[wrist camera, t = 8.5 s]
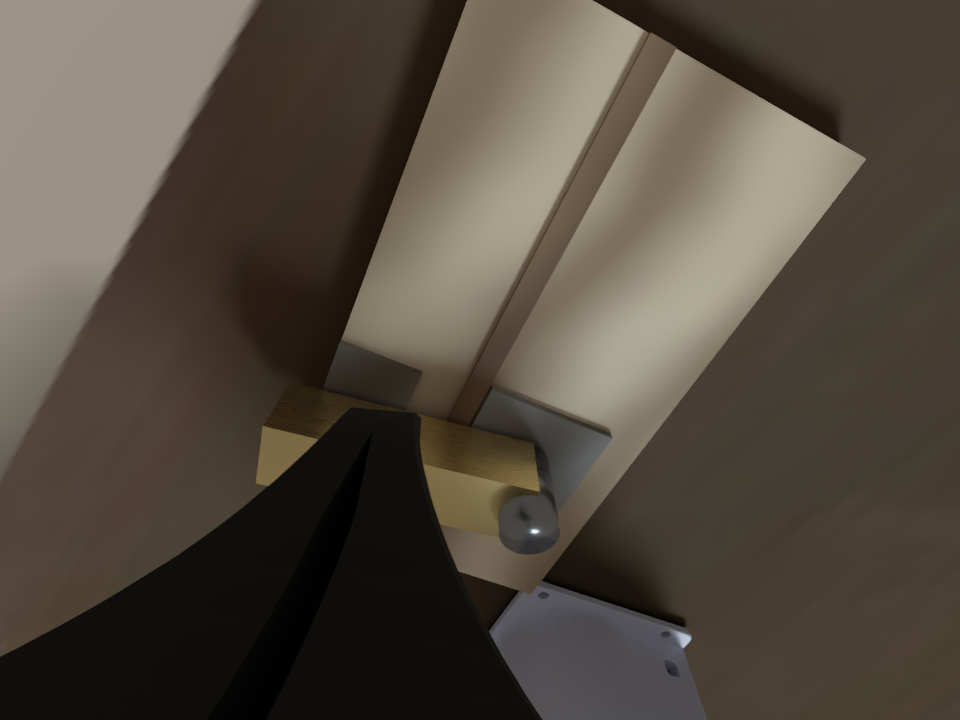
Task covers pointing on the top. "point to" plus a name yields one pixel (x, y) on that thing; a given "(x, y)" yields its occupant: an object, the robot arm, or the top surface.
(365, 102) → the top surface
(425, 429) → the swing bar
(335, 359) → the door board
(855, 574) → the top surface
